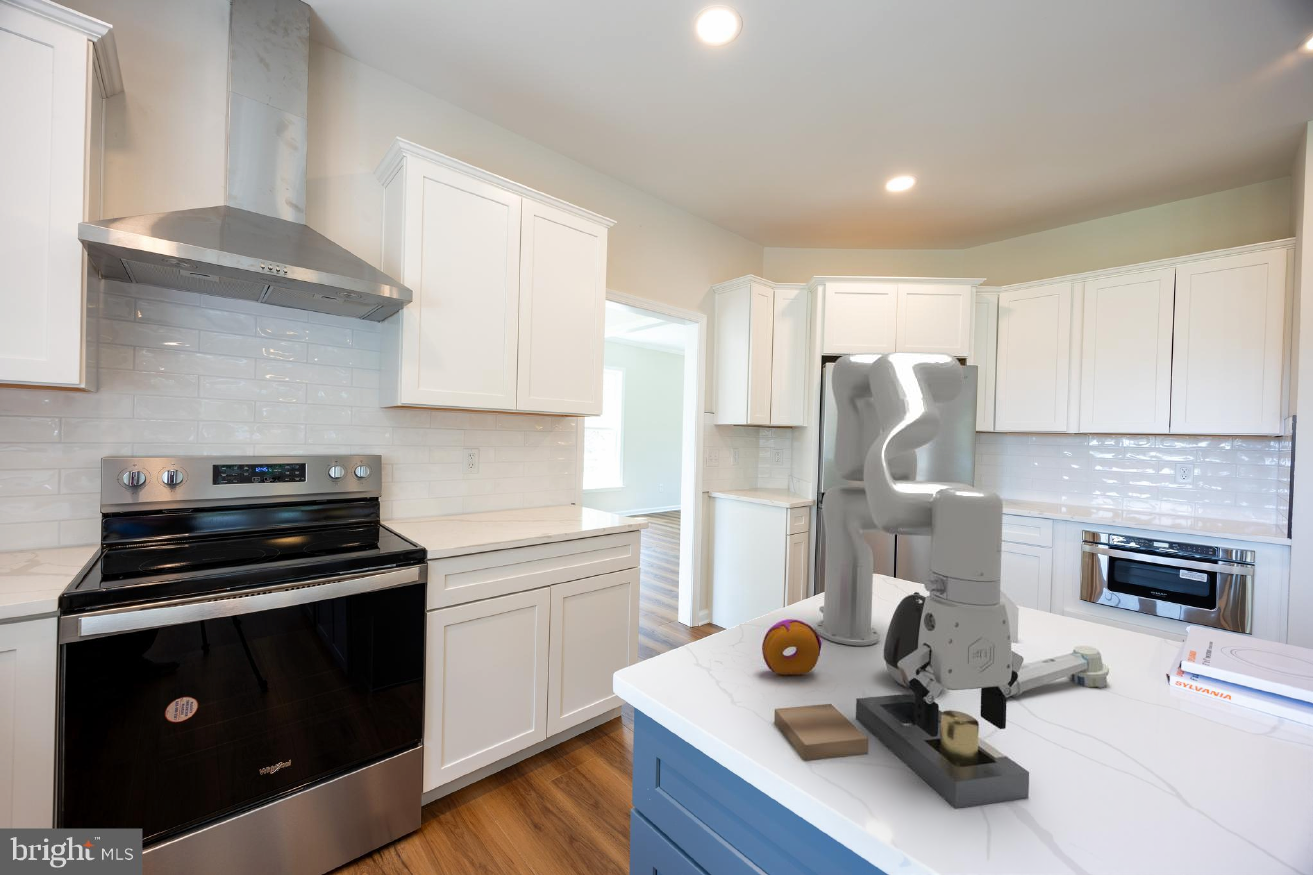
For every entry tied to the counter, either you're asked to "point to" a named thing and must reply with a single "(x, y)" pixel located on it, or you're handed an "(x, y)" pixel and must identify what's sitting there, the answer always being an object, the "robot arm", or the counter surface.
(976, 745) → the brass peg
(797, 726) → the brown flat square block
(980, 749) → the rail
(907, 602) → the black egg pod
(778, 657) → the donut
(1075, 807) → the counter surface
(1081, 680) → the grey mallet
